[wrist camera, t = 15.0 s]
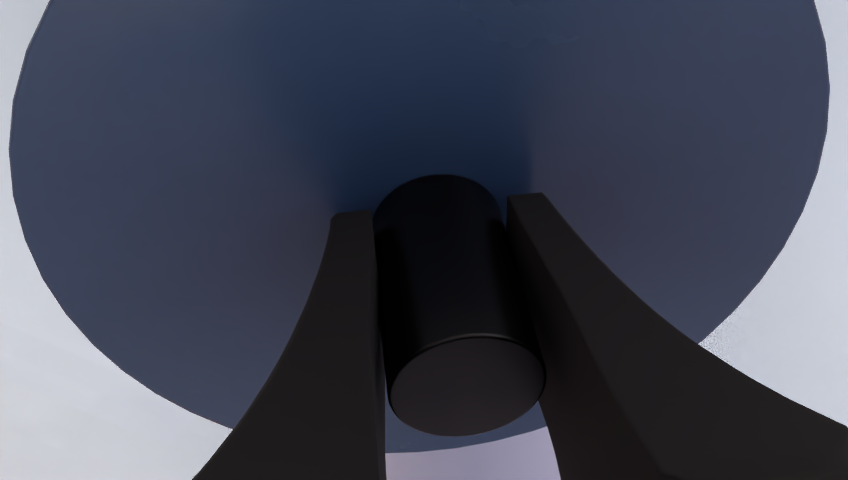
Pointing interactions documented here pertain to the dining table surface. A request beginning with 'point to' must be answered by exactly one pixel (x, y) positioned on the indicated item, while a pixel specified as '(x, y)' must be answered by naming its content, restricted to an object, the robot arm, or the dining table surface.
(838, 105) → the dining table surface
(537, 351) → the lid
